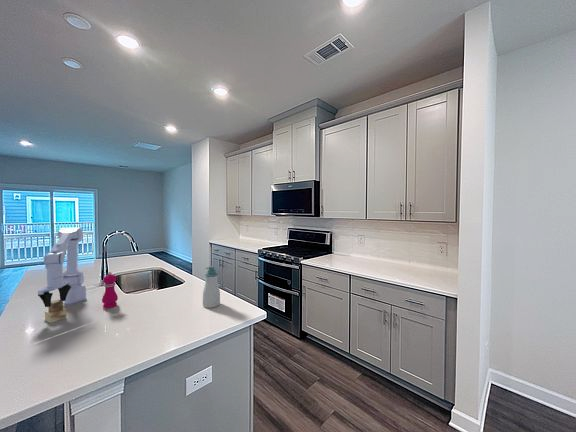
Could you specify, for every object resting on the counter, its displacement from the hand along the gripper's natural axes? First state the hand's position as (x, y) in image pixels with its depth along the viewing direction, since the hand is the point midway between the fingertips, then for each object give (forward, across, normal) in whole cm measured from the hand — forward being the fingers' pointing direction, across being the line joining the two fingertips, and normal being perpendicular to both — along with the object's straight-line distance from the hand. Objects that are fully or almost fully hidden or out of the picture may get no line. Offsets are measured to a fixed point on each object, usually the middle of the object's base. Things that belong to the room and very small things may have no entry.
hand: (55, 303), depth 123 cm
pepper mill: (+8, -16, +15) cm, 24 cm away
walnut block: (+3, 0, 0) cm, 3 cm away
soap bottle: (+8, -25, +70) cm, 75 cm away
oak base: (+7, 0, 0) cm, 7 cm away
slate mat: (+8, -4, -2) cm, 9 cm away
